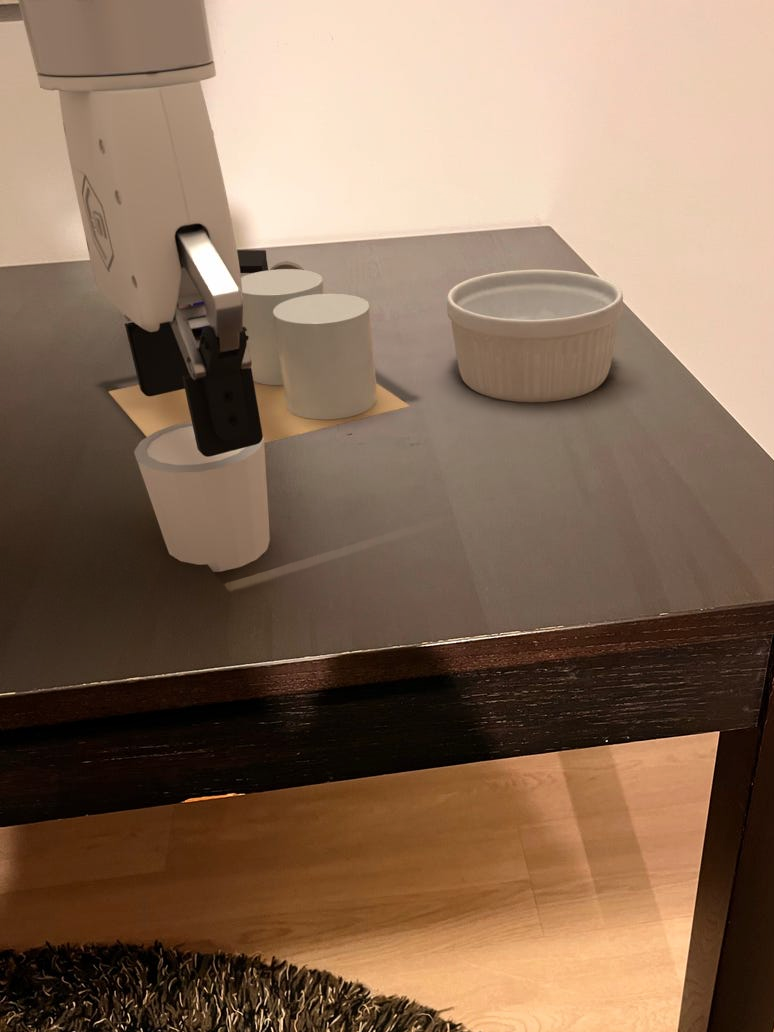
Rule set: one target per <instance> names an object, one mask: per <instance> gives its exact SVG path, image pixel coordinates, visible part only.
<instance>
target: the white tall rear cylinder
mask: <svg viewBox="0 0 774 1032" xmlns="http://www.w3.org/2000/svg"><path fill="white" fill-rule="evenodd" d="M241 283H242V295H243V327H245V328H246V329H247V331H245V333H246V336H248V337H249V338H248V340H247V347H248V349H249V352H250V356H251V361H252V366H251V369H252V375H253V381H254V382H257V383H260V384H265V385H273V386H283V381H282V374H281V367H280V359H279V352H278V345H277V338H276V331H275V324H274V317H273V310H274V308H275V307H276V306H277V305H279V304H280V303H282V302H284V301H287V300H290V299H293V298H297V297H301V296H307V295H314V294H325V289H324V288H325V286H324V279H323V277H322V275H320V274H319V273H317V272H314V271H311V270H306V269H304V270H298V269H277V270H270V269H268V271H261V272H256V273H248V274H246V275H243V276H241Z"/></svg>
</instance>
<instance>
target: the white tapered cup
mask: <svg viewBox="0 0 774 1032" xmlns="http://www.w3.org/2000/svg"><path fill="white" fill-rule="evenodd" d="M265 450H266V449H265V443H264V437H263V438H262V441H261V442H260V443H259V444H256V445H253V446H249V447H245V448H241V449H237V450H233V451H230V452H226V453H222V454H218V455H214V456H210V457H206V456H204V455H202V453H201V452H200V451H199V450H198V448H197V444H196V439H195V434H194V430H193V425H192V422H187V423H181V424H176V425H173V426H170V427H167V428H165V429H162V430H159V431H156V432H154V433H153V434H151V435H150V436H148V437H146V436H145V438H143V439H141V441H140V440H139V443H138V444H137V446H136V447H135V449H134V451H133V454H134V456H135V459H136V462H137V465H138V468H139V471H140V473H141V476H142V480H143V482H144V485H145V488H146V492H147V494H148V497H149V500H150V503H151V506H152V508H153V512H154V514H155V517H156V520H157V523H158V525H159V529H160V531H161V532H160V533H161V535H162V538H163V542H164V543H165V546H166V548H167V552H168V554H169V555H170V556H172V557H173V558H174V559H177V560H178V561H179V562H182V563H188V564H193V565H200V566H202V565H203V566H204V565H207V566H208V567H209V568H210V569H211V570H210V571H212V572H214V573H218V572H219V573H221V572H225V571H228V570H229V571H230V570H233V569H238V568H241V567H243V566H245V565H248V564H250V563H252V562H254V561H256V560H258V559H259V558H260V557H261V556H262V555H263V554H264V553H265V552H266V551H267V550H268V548H269V545H270V541H271V537H270V536H271V535H270V534H271V533H270V520H269V517H270V516H269V503H268V486H267V485H268V484H267V469H266V451H265Z"/></svg>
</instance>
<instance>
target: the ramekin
mask: <svg viewBox="0 0 774 1032" xmlns="http://www.w3.org/2000/svg"><path fill="white" fill-rule="evenodd" d="M446 298H447V299H446V313H447V317H448V318H449V320H450V321H451V328H452V336H453V342H454V343H453V344H454V348H455V349H454V350H455V355H456V360H457V365H458V366H457V367H458V371H459V374H460V377H461V379H462V381H463V382H464V384H465V385H466V386H467V387H469V388H470V389H471V390H473V391H474V392H476V393H478V394H480V395H483V396H486V397H489V398H492V399H497V400H501V401H509V402H517V403H550V402H557V401H558V402H559V401H564V400H565V401H566V400H569V399H574V398H578V397H581V396H583V395H586V394H589V393H591V392H592V391H594V390H596V389H598V387H600V386H601V385H602V384H603V383H604V382H605V380H606V379H607V377H608V375H609V372H610V369H611V365H612V360H613V355H614V349H615V344H616V338H617V330H618V323H619V318H620V317H621V315H622V314H623V308H624V295H623V291H622V289H621V288H620V287H619V286H618V285H617V284H616V283H614V282H612V281H611V280H609V279H605V278H603V277H600V276H597V275H594V274H589V273H584V272H583V273H582V272H577V271H569V270H560V269H559V270H558V269H524V270H523V269H521V270H507V271H501V272H494V273H488V274H483V275H478V276H475V277H472V278H468V279H467V280H464V281H462V282H460V283H458V284H456V285H454V286H452V288H451V289H450V290H449V292H448V293H447V297H446Z"/></svg>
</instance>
